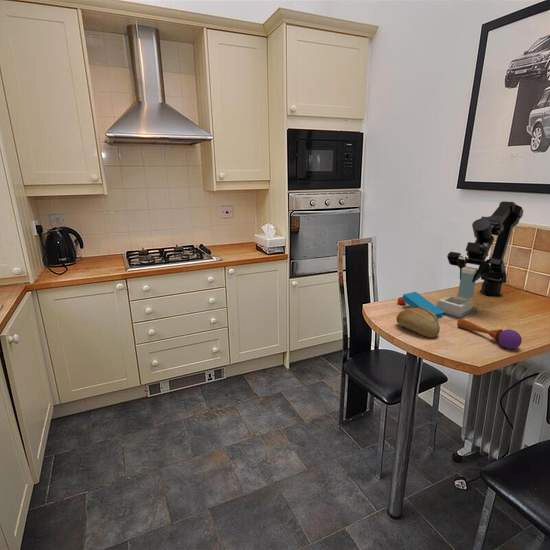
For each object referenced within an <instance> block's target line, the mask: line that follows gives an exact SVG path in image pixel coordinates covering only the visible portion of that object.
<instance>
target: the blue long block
mask: <svg viewBox="0 0 550 550" xmlns="http://www.w3.org/2000/svg"><path fill="white" fill-rule="evenodd" d="M397 304H398V305H400V304H401V305H400V306H405V305H406V304H407V305H408V306H409V307H410V308H411V307H416V306H417V307H422V308H425V309H428V310H430V311H431V312H433V313H434V314H435V315H436V317H437V319H439V317H440V318H442V317H443V316H444V315H443V314H444V312H443V311H442V310H440V309H439V308H438V307H436V306H437V305H435V304H433V303H432V302H431V301H429V300H428V299H427V298H426V297H425V296H423V295H422V294H420V293H418V292H417V291H412V292H407V293H403V295H402V296H401V297H398V298H397Z"/></svg>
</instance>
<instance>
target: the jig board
mask: <svg viewBox="0 0 550 550" xmlns="http://www.w3.org/2000/svg"><path fill="white" fill-rule="evenodd" d="M435 306H436V307H438V308H439V309H440V310H442V311H443V312H444V314H443V316H445V315H446V317H449V316H450V317H449V318H452V317H453V318H452V319H455V318H456V320H458V319H461V318H462V319H464V318H466V317H468V316H470V315H472V314H474V313H476V312H478V308H477V307H475V306H473V301H472V300H470V299H466V298H461V297H458V296H457V297H456V296H454V295H447V296H445V297H442V298H440V299H438V301H437V305H435ZM469 314H470V315H469ZM465 316H466V317H465ZM463 317H464V318H463Z"/></svg>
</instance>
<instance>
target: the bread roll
mask: <svg viewBox="0 0 550 550" xmlns="http://www.w3.org/2000/svg"><path fill="white" fill-rule="evenodd" d="M438 319H439V318H437V317H436V315H435V314H434V313H433V312H431V311H430V310H428V309H425V308H422V307H417V306H416V307H411V306H410V307H407V308H405V309H404V310H402V311H400V312H399V313H398V314H397V316H396V323H397V324H398V325H399V326H401V327H403V328H406V329H408V330H411V331H412V332H415V333H418V334H419V335H421V336H424V337H426V338H430V339H431V338H436V337H438V336H439V333H440V332H441V331H440V330H441V329H440V328H441V327H440V323H439V320H438Z"/></svg>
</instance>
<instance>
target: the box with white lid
mask: <svg viewBox="0 0 550 550" xmlns="http://www.w3.org/2000/svg"><path fill="white" fill-rule="evenodd" d="M477 270H478V268H477V267H471V266H466V267H464V268H462V271H461V278H460V277H459V286H458V290H457V291H458V293H457V297H458V298H461V299H465V300H470V299H472V298H473V297H474V292H475V287H476V281H475V282H474V283H473V282H472V280H473V278H474V276H475V274H476V272H477Z"/></svg>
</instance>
